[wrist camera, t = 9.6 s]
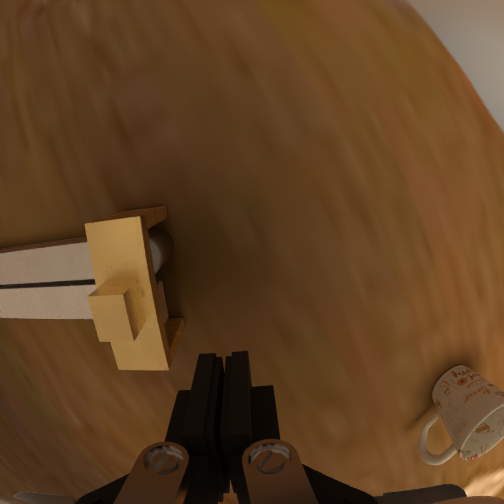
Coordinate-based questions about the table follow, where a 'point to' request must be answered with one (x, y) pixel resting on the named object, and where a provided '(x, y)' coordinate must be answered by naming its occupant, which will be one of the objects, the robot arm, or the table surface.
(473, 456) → the mug
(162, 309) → the tongs moving leg
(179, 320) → the collar
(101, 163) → the table surface
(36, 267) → the strip
